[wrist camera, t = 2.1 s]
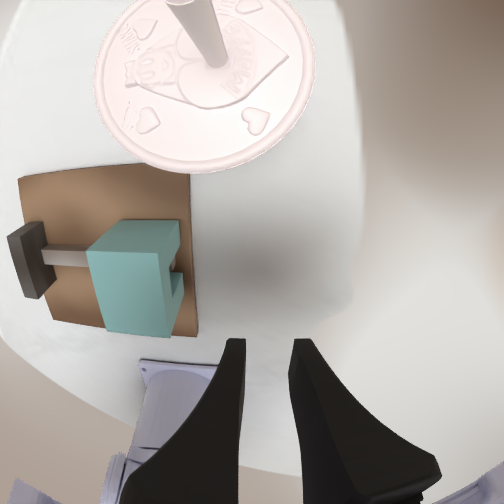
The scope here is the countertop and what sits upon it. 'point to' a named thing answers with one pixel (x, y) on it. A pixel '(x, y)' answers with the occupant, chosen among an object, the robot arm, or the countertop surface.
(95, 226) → the rail board
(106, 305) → the block
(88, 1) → the countertop surface
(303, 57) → the smoothie
